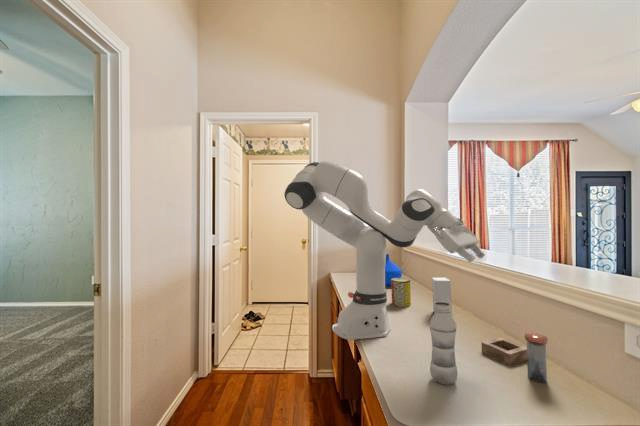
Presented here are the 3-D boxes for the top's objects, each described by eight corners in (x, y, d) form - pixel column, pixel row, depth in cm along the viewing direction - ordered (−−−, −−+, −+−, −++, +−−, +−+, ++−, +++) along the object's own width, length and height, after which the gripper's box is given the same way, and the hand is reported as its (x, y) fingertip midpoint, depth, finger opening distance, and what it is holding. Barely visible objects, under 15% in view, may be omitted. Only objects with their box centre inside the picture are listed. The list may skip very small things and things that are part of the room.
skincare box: (452, 318, 121) (451, 281, 122) (435, 317, 123) (434, 280, 123) (447, 311, 129) (446, 277, 130) (432, 311, 131) (431, 276, 131)
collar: (510, 364, 83) (509, 354, 83) (481, 351, 91) (481, 342, 91) (530, 358, 86) (529, 348, 86) (501, 346, 94) (500, 337, 95)
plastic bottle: (425, 375, 78) (424, 300, 78) (449, 373, 79) (447, 299, 79) (437, 389, 72) (435, 308, 72) (463, 387, 72) (461, 307, 73)
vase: (405, 283, 187) (405, 253, 188) (396, 289, 172) (396, 256, 172) (378, 280, 197) (378, 252, 198) (368, 285, 182) (367, 255, 182)
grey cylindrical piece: (541, 385, 72) (540, 341, 73) (521, 376, 77) (520, 334, 77) (553, 381, 74) (551, 338, 75) (533, 372, 79) (532, 331, 79)
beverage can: (390, 301, 147) (389, 277, 147) (407, 301, 147) (407, 277, 147) (394, 306, 138) (393, 281, 138) (413, 306, 138) (412, 281, 138)
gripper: (439, 221, 88) (474, 255, 81) (463, 219, 102) (495, 249, 95) (425, 235, 91) (458, 269, 84) (450, 231, 105) (480, 261, 98)
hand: (478, 258), depth 90 cm, fingers open, 8 cm apart
